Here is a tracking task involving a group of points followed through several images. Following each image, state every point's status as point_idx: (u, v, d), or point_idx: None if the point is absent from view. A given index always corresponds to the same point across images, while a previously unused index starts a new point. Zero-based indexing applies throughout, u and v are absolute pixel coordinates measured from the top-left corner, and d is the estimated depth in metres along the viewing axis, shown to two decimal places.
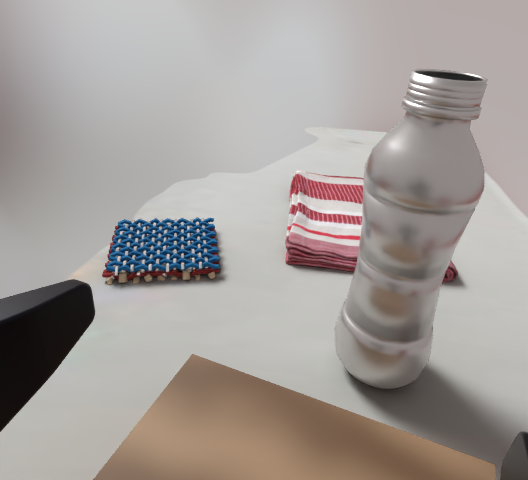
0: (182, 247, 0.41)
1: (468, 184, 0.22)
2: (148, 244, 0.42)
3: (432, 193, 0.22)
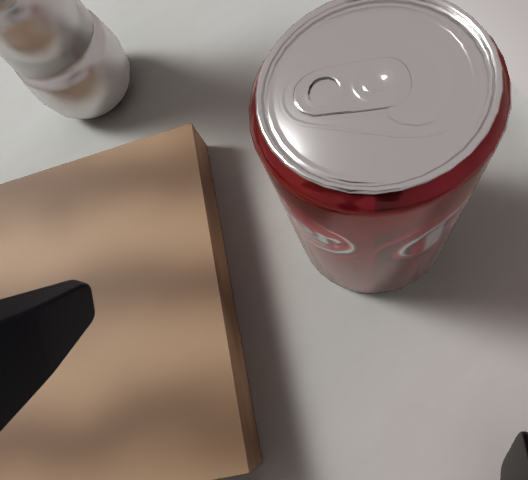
0: None
1: None
2: None
3: None
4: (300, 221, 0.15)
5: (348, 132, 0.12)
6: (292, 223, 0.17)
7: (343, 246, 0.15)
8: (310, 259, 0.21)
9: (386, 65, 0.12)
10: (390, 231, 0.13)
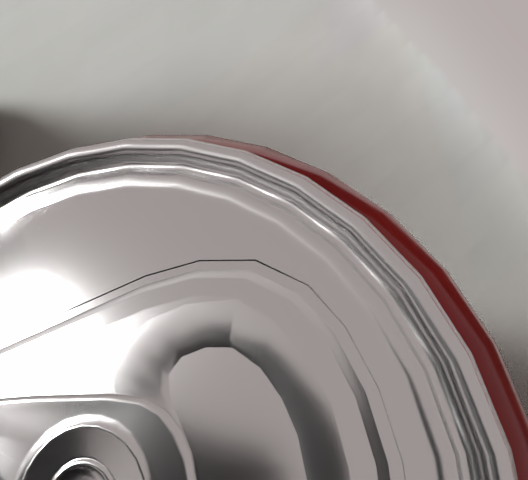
0: None
1: None
2: None
3: None
4: None
5: None
6: None
7: None
8: None
9: (132, 429, 0.04)
10: None
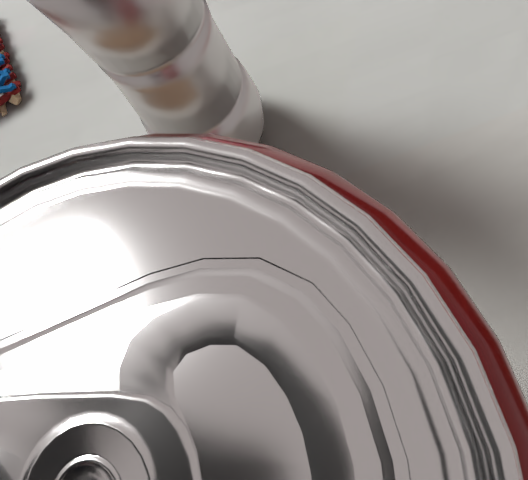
0: None
1: None
2: None
3: None
4: None
5: None
6: None
7: None
8: None
9: (137, 427, 0.04)
10: None
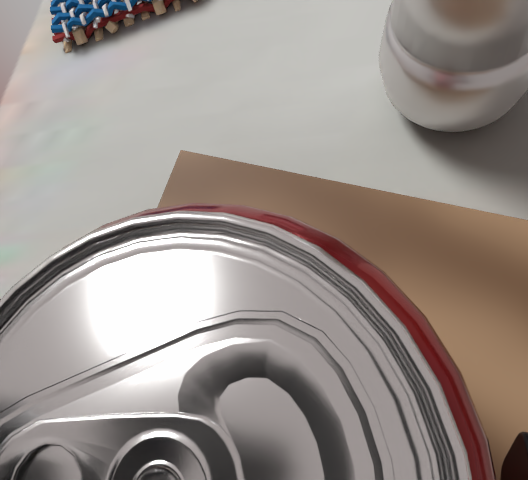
0: None
1: None
2: None
3: None
4: None
5: None
6: None
7: None
8: None
9: (194, 439, 0.05)
10: None
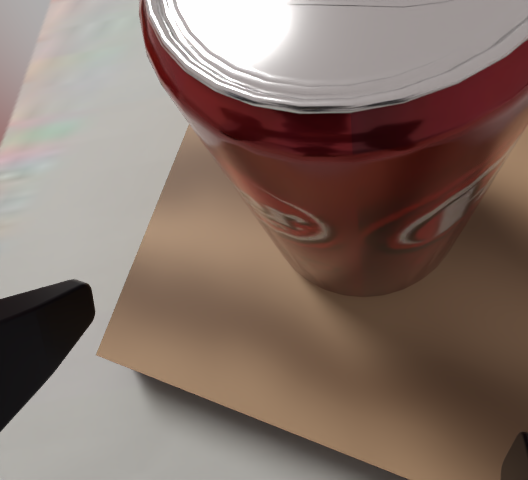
0: None
1: None
2: None
3: None
4: (242, 189, 0.09)
5: (302, 5, 0.06)
6: None
7: (310, 228, 0.09)
8: (280, 252, 0.16)
9: None
10: (385, 197, 0.07)
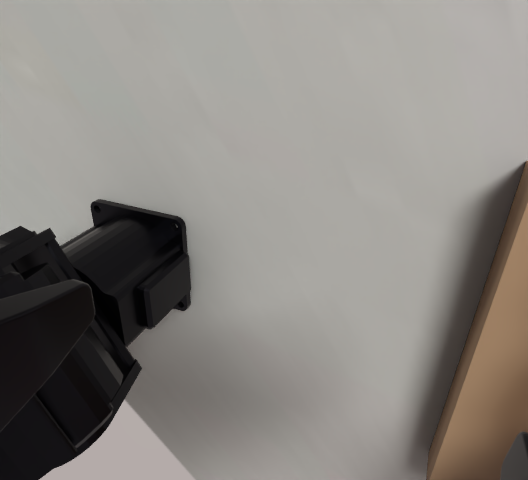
0: None
1: None
2: None
3: None
4: None
5: None
6: None
7: None
8: None
9: None
10: None
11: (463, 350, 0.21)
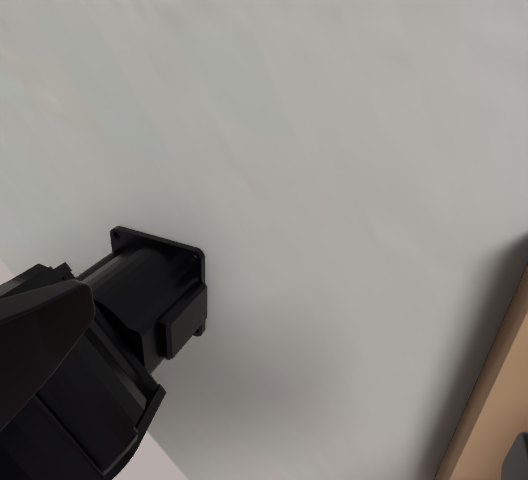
0: None
1: None
2: None
3: None
4: None
5: None
6: None
7: None
8: None
9: None
10: None
11: (473, 390, 0.22)
